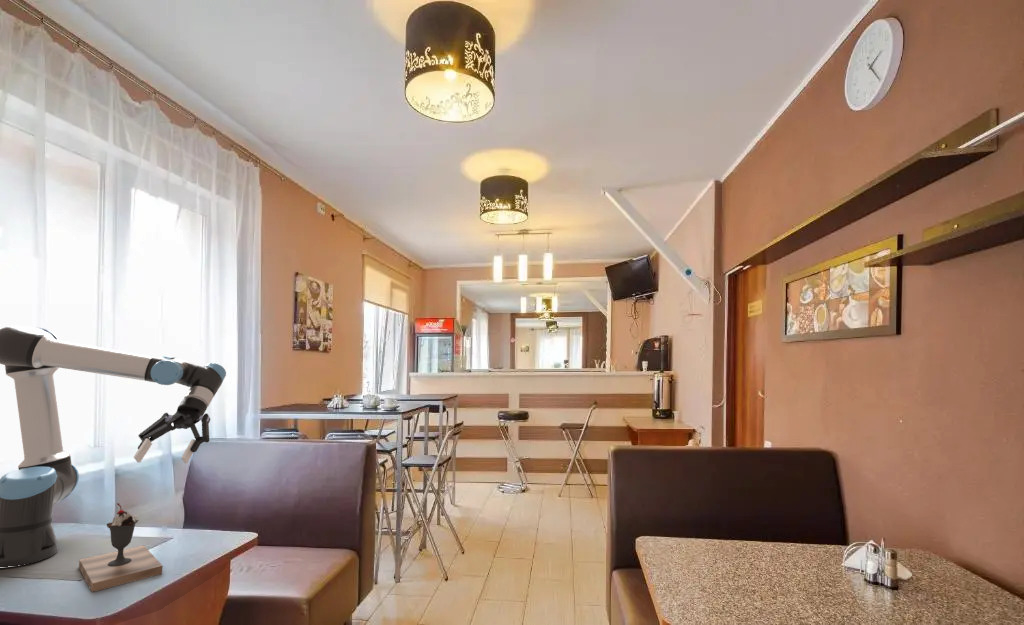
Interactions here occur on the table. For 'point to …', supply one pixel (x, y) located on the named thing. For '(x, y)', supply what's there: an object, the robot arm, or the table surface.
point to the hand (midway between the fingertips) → (160, 460)
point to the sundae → (121, 535)
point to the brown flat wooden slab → (119, 568)
